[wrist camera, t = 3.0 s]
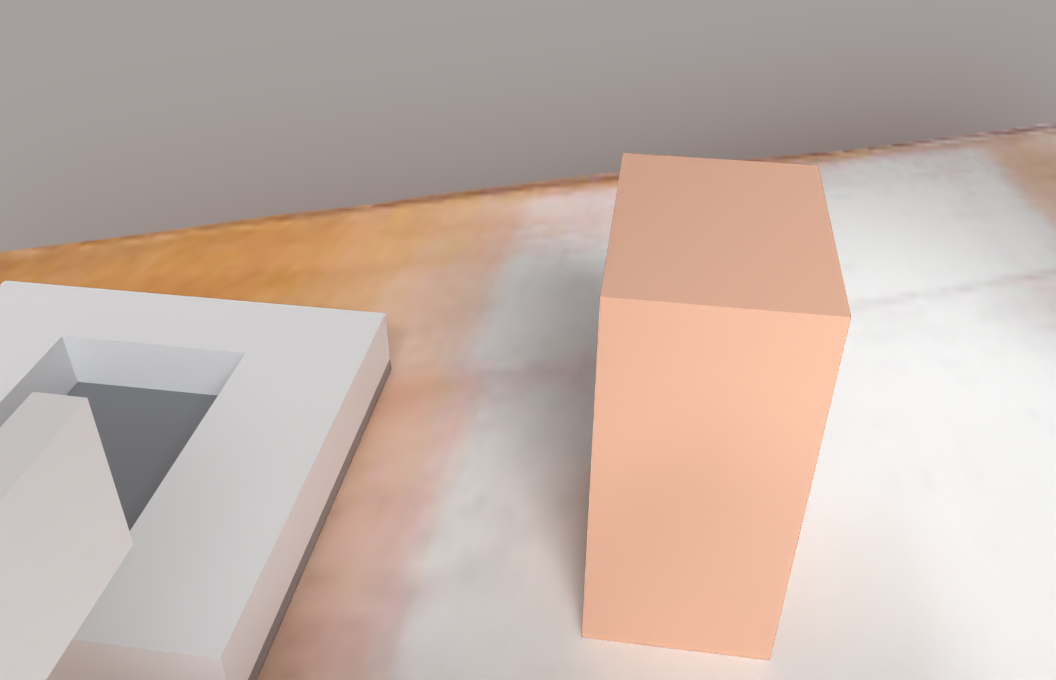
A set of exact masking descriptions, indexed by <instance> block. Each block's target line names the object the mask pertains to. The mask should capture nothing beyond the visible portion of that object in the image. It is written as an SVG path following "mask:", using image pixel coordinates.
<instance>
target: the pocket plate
mask: <svg viewBox="0 0 1056 680" xmlns="http://www.w3.org/2000/svg"><path fill="white" fill-rule="evenodd" d="M390 370H391V365H390V355H389V345H388V335H387V325H386V315H385V313H377V312H365V311H353V310H342V309H330V308H318V307H307V306H295V305H284V304H272V303H260V302H249V301H237V300H225V299H214V298H202V297H190V296H179V295H167V294H156V293H144V292H132V291H121V290H109V289H97V288H86V287H74V286H62V285H51V284H39V283H28V282H16V281H4V282H3V283H2V284H1V285H0V427H1V426H2V425H3V424H4V423H5V422H6V420H7V419H8V418H9V417H10V416H11V415H12V414H13V413H14V412H15V411H16V410H17V409H18V407H19V406H20V405H21V404H22V403H23V402H24V401H25V400H26V399H27V398H28V397H29V395H30V394H31V393H32V392H40V393H49V394H58V395H67V396H76V397H85V398H88V401H89V405H90V408H91V411H92V414H93V417H94V420H95V424H96V427H97V430H98V433H99V436H100V439H101V443H102V446H103V449H104V452H105V455H106V458H107V462H108V465H109V468H110V471H111V474H112V477H113V481H114V484H115V487H116V490H117V493H118V497H119V500H120V503H121V506H122V509H123V512H124V516H125V519H126V522H127V525H128V528H129V531H130V535H131V538H132V541H133V546H132V547H131V549H130V550H129V552H128V554H127V555H126V557H125V558H124V560H123V561H122V563H121V564H120V566H119V568H118V569H117V571H116V572H115V574H114V575H113V577H112V578H111V580H110V581H109V583H108V585H107V586H106V588H105V589H104V591H103V592H102V594H101V595H100V597H99V598H98V600H97V602H96V603H95V605H94V606H93V608H92V609H91V611H90V612H89V614H88V616H87V617H86V619H85V620H84V622H83V623H82V625H81V626H80V628H79V629H78V631H77V633H76V634H75V636H74V637H73V639H72V640H71V642H70V643H69V645H68V646H67V648H66V650H65V651H64V653H63V654H62V656H61V657H60V659H59V660H58V662H57V664H56V665H55V667H54V668H53V670H52V671H51V673H50V674H49V676H48V677H47V679H46V680H256V679H257V677H258V675H259V672H260V670H261V668H262V665H263V663H264V661H265V659H266V656H267V654H268V652H269V649H270V647H271V645H272V642H273V640H274V638H275V635H276V633H277V631H278V629H279V626H280V624H281V622H282V619H283V617H284V615H285V612H286V610H287V608H288V605H289V603H290V601H291V599H292V596H293V594H294V592H295V589H296V587H297V585H298V582H299V580H300V578H301V575H302V573H303V571H304V569H305V566H306V564H307V562H308V559H309V557H310V555H311V552H312V550H313V548H314V546H315V543H316V541H317V539H318V536H319V534H320V532H321V529H322V527H323V525H324V522H325V520H326V518H327V516H328V513H329V511H330V509H331V506H332V504H333V502H334V499H335V497H336V495H337V492H338V490H339V488H340V486H341V483H342V481H343V479H344V476H345V474H346V472H347V469H348V467H349V465H350V463H351V460H352V458H353V456H354V453H355V451H356V449H357V446H358V444H359V442H360V439H361V437H362V435H363V433H364V430H365V428H366V426H367V423H368V421H369V419H370V416H371V414H372V412H373V409H374V407H375V405H376V403H377V400H378V398H379V396H380V393H381V391H382V389H383V386H384V384H385V382H386V380H387V377H388V375H389V373H390Z"/></svg>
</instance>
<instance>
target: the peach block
mask: <svg viewBox="0 0 1056 680" xmlns="http://www.w3.org/2000/svg"><path fill="white" fill-rule="evenodd" d="M850 320H851V314H850V310H849V305H848V301H847V296H846V291H845V287H844V282H843V278H842V273H841V269H840V264H839V259H838V255H837V250H836V246H835V241H834V237H833V232H832V228H831V223H830V218H829V214H828V209H827V205H826V200H825V196H824V191H823V186H822V182H821V177H820V173H819V168H818V165H803V164H788V163H772V162H756V161H741V160H725V159H710V158H694V157H678V156H663V155H647V154H630V153H623V157H622V163H621V169H620V175H619V182H618V188H617V194H616V200H615V207H614V213H613V219H612V225H611V232H610V238H609V244H608V250H607V256H606V263H605V269H604V275H603V281H602V288H601V294H600V307H599V325H598V344H597V362H596V381H595V399H594V418H593V436H592V455H591V473H590V492H589V510H588V529H587V547H586V566H585V585H584V603H583V622H582V637H584V638H592V639H600V640H608V641H617V642H625V643H633V644H641V645H649V646H657V647H665V648H673V649H681V650H689V651H697V652H706V653H714V654H722V655H730V656H738V657H746V658H754V659H762V660H770V657H771V652H772V648H773V644H774V640H775V636H776V631H777V627H778V623H779V619H780V615H781V610H782V606H783V602H784V598H785V594H786V589H787V585H788V581H789V577H790V573H791V568H792V564H793V560H794V556H795V551H796V547H797V543H798V539H799V535H800V530H801V526H802V522H803V518H804V514H805V509H806V505H807V501H808V497H809V493H810V488H811V484H812V480H813V476H814V472H815V467H816V463H817V459H818V455H819V450H820V446H821V442H822V438H823V434H824V429H825V425H826V421H827V417H828V413H829V408H830V404H831V400H832V396H833V392H834V387H835V383H836V379H837V375H838V371H839V366H840V362H841V358H842V354H843V349H844V345H845V341H846V337H847V333H848V328H849V324H850Z"/></svg>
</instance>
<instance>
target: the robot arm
mask: <svg viewBox="0 0 1056 680" xmlns="http://www.w3.org/2000/svg"><path fill="white" fill-rule="evenodd" d="M132 546H133V541H132V538H131V535H130V531H129V528H128V525H127V522H126V519H125V516H124V512H123V509H122V506H121V503H120V500H119V497H118V493H117V490H116V487H115V484H114V481H113V477H112V474H111V471H110V468H109V465H108V462H107V458H106V455H105V452H104V449H103V446H102V443H101V439H100V436H99V433H98V430H97V427H96V424H95V420H94V417H93V414H92V411H91V408H90V405H89V401H88V398H85V397H76V396H67V395H58V394H49V393H40V392H32V393H31V394H30V395H29V397H28V398H27V399H26V400H25V401H24V402H23V403H22V404H21V405H20V406H19V407H18V409H17V410H16V411H15V412H14V413H13V414H12V415H11V416H10V417H9V418H8V419H7V420H6V422H5V423H4V424H3V425H2V426H1V427H0V680H46V679H47V677H48V676H49V674H50V673H51V671H52V670H53V668H54V667H55V665H56V664H57V662H58V660H59V659H60V657H61V656H62V654H63V653H64V651H65V650H66V648H67V646H68V645H69V643H70V642H71V640H72V639H73V637H74V636H75V634H76V633H77V631H78V629H79V628H80V626H81V625H82V623H83V622H84V620H85V619H86V617H87V616H88V614H89V612H90V611H91V609H92V608H93V606H94V605H95V603H96V602H97V600H98V598H99V597H100V595H101V594H102V592H103V591H104V589H105V588H106V586H107V585H108V583H109V581H110V580H111V578H112V577H113V575H114V574H115V572H116V571H117V569H118V568H119V566H120V564H121V563H122V561H123V560H124V558H125V557H126V555H127V554H128V552H129V550H130V549H131V547H132Z"/></svg>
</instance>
